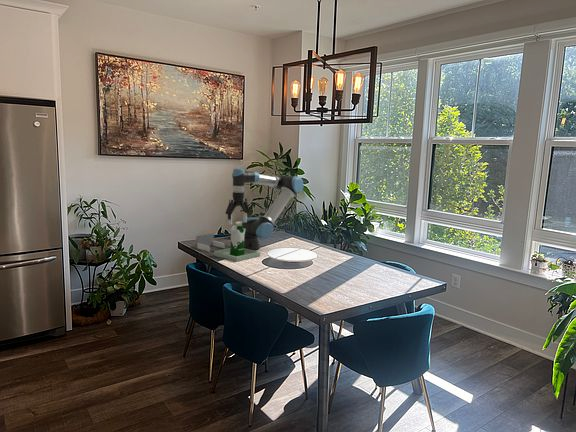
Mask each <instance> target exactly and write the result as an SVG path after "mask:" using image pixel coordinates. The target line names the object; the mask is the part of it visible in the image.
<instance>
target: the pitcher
mask: <svg viewBox="0 0 576 432" xmlns="http://www.w3.org/2000/svg"><path fill="white" fill-rule="evenodd" d="M237 226H242V220H240V221H235V225H232V226H231V228H237Z"/></svg>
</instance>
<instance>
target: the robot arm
mask: <svg viewBox="0 0 576 432" xmlns="http://www.w3.org/2000/svg"><path fill="white" fill-rule="evenodd" d="M231 178H232V199H229V200H228V205H227V208H226V211H225V214H226V215H227V220H228V225H232V226H233V213H234V210H235V209H236V208H237V207H241V209H242V210H243V213H242V214H243V215H242V217H243V218H242V220H241V221H242V226H243V229H246V230H245V234H244V248H246V249H250V250H254V251H258V250H260V248H261V246H260V242H259V239H263V240H266V239H269V238H270V237H271V236H272V235H273V234H274V229H275V228H274V226H275V222H276V220H277V219H278V217H279V216H280V215H281V213H282V211H283V210H284V208H285V207H286V206H287V204H288V203H289V201H290V200H291V198H295V196H296V195H297V194H300V193H302V191H303V190H304V186H305V185H304V181H303V179H302V178H301V177H300V176H296V175H295V176H292V175H275V174H274V175H267V174H262V173H259V172H258V171H254V170H253V171H251V170H250V171H247V170H245V169H244V168H234V169H233V170H232V175H231ZM249 183H250V184H255V185H261V186H267V187H271V188H272V189H276V190H280V192H279V194H278V196H277V197H276V198H275V200H274V201H273V202H272V204H271V205H270V206H269V208H268V209H267V211H266V212H265V214H264V215H261V216H260V217H257V216H256V217H248V214H249V213H250V211H251V210H250V206H249V204H248V200H247V198H244V197H245V184H249ZM258 238H259V239H258Z"/></svg>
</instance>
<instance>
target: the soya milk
mask: <svg viewBox="0 0 576 432" xmlns="http://www.w3.org/2000/svg"><path fill="white" fill-rule="evenodd" d="M245 230H246V229H243V226H237V228H235V227H234V228H232V227H231V228H229V233H230V248H231V249H230V255H234V256H241V255H244V234H245Z"/></svg>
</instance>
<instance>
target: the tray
mask: <svg viewBox="0 0 576 432" xmlns="http://www.w3.org/2000/svg"><path fill="white" fill-rule="evenodd" d="M230 249H231V247H229V248H223V249H220V250H215V251H213V256H214V257H217V258H220V259H224V260H229V261H231V262H234V263H238V262H243V261H245V260H246V261H247V260H251V259H255V258H258V257H259V258H260V257H261V252H260V251H258V250H250V249H246V248H244V255H241V256H234V255H230Z"/></svg>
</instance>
